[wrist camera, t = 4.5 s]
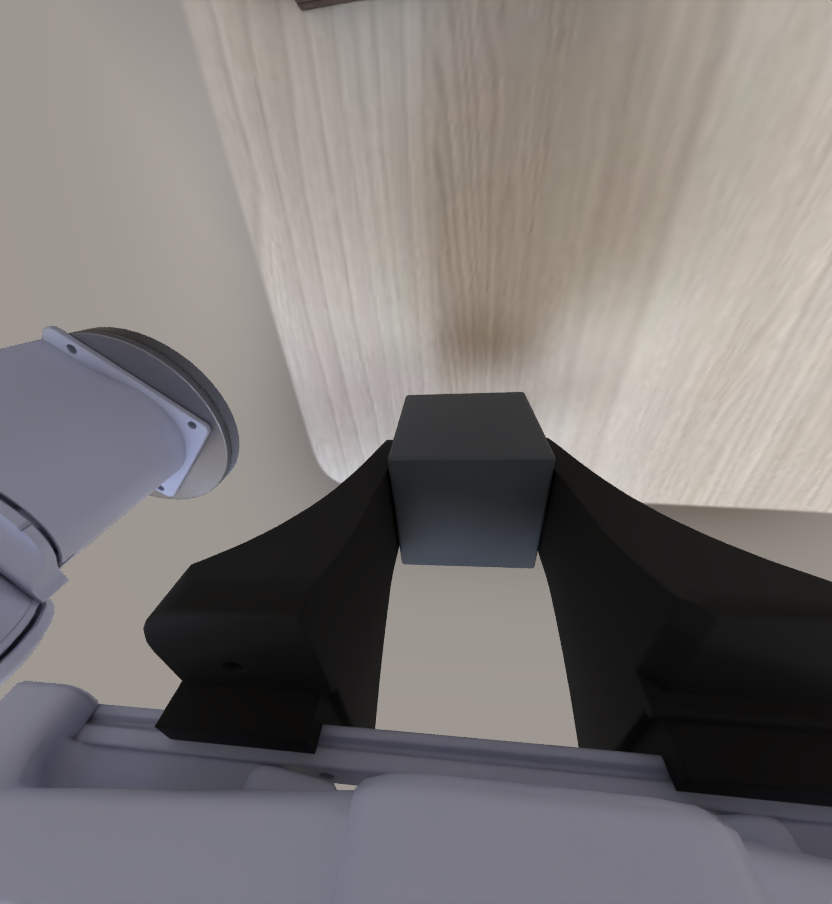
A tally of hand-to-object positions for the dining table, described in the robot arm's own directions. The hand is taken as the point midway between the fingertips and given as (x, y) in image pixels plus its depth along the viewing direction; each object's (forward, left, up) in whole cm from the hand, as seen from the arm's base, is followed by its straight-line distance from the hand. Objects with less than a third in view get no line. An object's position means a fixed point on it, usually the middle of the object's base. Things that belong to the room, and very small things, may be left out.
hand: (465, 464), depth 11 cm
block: (0, 0, -1) cm, 1 cm away
